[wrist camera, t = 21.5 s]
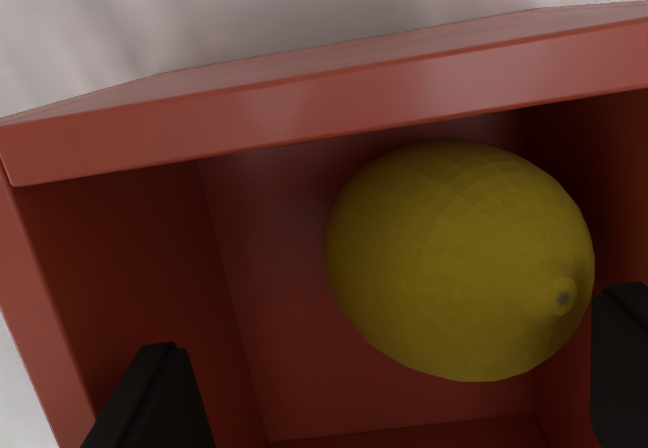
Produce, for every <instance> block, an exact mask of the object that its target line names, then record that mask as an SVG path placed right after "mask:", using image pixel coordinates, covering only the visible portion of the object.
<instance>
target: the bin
mask: <svg viewBox="0 0 648 448" xmlns="http://www.w3.org/2000/svg"><path fill="white" fill-rule="evenodd" d="M424 140H469V141H475V142H479V143H482V144H485V145H488V146H492V147H495V148H498V149H501V150H505V151H508V152H511V153H513V154H516V155H518V156H520V157H522V158H524V159H526V160H528V161H530V162H531V163H533V164H534V165H536V166H537V167H538V168H540V169H541V170H543V171H544V172H546V173H547V174H549V175H550V176H552V177H553V178H554V179H555V180H557V181H558V182H559V183H560V185H561V186H562V187H563V188H564V189H565V191H566V192H567V193H568V194H569V195H570V197H571V198H572V199H573V200H574V202H575V203H576V204H577V206H578V207H579V209H580V211H581V213H582V216H583V218H584V220H585V222H586V224H587V227H588V229H589V232H590V236H591V240H592V245H593V250H594V255H595V280H594V284H593V289H592V294H591V298H590V302H589V305H588V307H587V309H586V312H585V314H584V316H583V319H582V321H581V323H580V324H579V326H578V327H577V328H576V330H575V331H574V333H573V334H572V336H571V337H570V339H569V340H568V341H567V342H566V343H565V344H564V345H563V346H562V347H561V348H560V349H559V350H558V351H557V352H556V353H555V354H554V355H553V356H552V357H550V358H548V359H547V360H545V361H544V362H542V363H540V364H539V365H537V366H535V367H534V368H532V369H531V370H529V371H527V372H525V373H522V374H518V375H515V376H512V377H509V378H506V379H502V380H498V381H483V382H460V381H454V380H449V379H445V378H442V377H438V376H434V375H431V374H427V373H423V372H420V371H417V370H414V369H411V368H409V367H407V366H405V365H403V364H401V363H399V362H397V361H396V360H394V359H393V358H391V357H389V356H388V355H386V354H385V353H383V352H381V351H380V350H378V349H377V348H375V347H374V346H372V345H371V344H370V343H369V342H367V341H366V340H365V339H364V338H363V336H362V335H361V334H360V333H359V332H358V331H357V330H356V328H355V327H354V326H353V325H352V324H351V323H350V322H349V320H348V319H347V318H346V317H345V316H344V314H343V313H342V311H341V309H340V307H339V305H338V303H337V301H336V299H335V296H334V294H333V292H332V290H331V288H330V286H329V282H328V278H327V273H326V268H325V263H324V257H323V255H324V237H325V229H326V226H327V223H328V219H329V216H330V213H331V210H332V207H333V205H334V203H335V202H336V200H337V198H338V196H339V195H340V193H341V191H342V190H343V188H344V186H345V185H346V184H347V183H348V182H349V181H350V180H351V179H352V178H353V177H354V176H355V174H356V173H357V172H358V171H359V170H360V169H361V168H362V167H364V166H365V165H366V164H368V163H370V162H371V161H373V160H375V159H376V158H378V157H380V156H381V155H383V154H384V153H386V152H388V151H390V150H392V149H396V148H399V147H402V146H406V145H409V144H413V143H416V142H420V141H424ZM635 281H640V282H642V283H644V284H645V285H646V286H647V287H648V0H641V1H628V2H614V3H600V4H587V5H573V6H560V7H545V8H536V9H530V10H524V11H518V12H513V13H507V14H501V15H495V16H489V17H484V18H478V19H472V20H466V21H460V22H455V23H449V24H443V25H437V26H432V27H426V28H420V29H414V30H408V31H403V32H397V33H391V34H385V35H379V36H374V37H368V38H362V39H356V40H351V41H345V42H339V43H333V44H327V45H322V46H316V47H310V48H304V49H298V50H293V51H287V52H281V53H275V54H269V55H264V56H258V57H252V58H246V59H241V60H235V61H229V62H223V63H217V64H212V65H206V66H200V67H194V68H188V69H183V70H177V71H171V72H165V73H160V74H155V75H151V76H148V77H144V78H141V79H137V80H133V81H130V82H126V83H123V84H119V85H116V86H112V87H108V88H105V89H101V90H98V91H94V92H91V93H87V94H83V95H80V96H76V97H73V98H69V99H66V100H62V101H59V102H55V103H51V104H48V105H44V106H41V107H37V108H34V109H30V110H26V111H23V112H19V113H16V114H12V115H9V116H5V117H2V118H0V310H1V312H2V314H3V317H4V319H5V322H6V324H7V326H8V329H9V331H10V333H11V336H12V338H13V340H14V343H15V345H16V347H17V350H18V352H19V354H20V357H21V359H22V362H23V364H24V366H25V369H26V371H27V373H28V376H29V378H30V380H31V383H32V385H33V387H34V390H35V392H36V394H37V397H38V399H39V401H40V404H41V406H42V409H43V411H44V413H45V416H46V418H47V420H48V423H49V425H50V427H51V430H52V432H53V434H54V437H55V439H56V441H57V444H58V446H59V448H80V447H81V445H82V443H83V442H84V440H85V438H86V437H87V435H88V433H89V432H90V430H91V428H92V427H93V425H94V423H95V422H96V420H97V418H98V417H99V415H100V413H101V412H102V410H103V408H104V407H105V405H106V403H107V402H108V400H109V399H110V397H111V395H112V394H113V392H114V390H115V389H116V387H117V385H118V384H119V382H120V380H121V379H122V377H123V375H124V374H125V372H126V370H127V369H128V367H129V365H130V364H131V362H132V360H133V359H134V357H135V355H136V354H137V352H138V350H139V349H140V348H141V347H142V346H143V345H149V344H156V343H164V342H174V343H175V344H176V345H177V346H178V348H185V349H186V350H187V352H188V355H189V358H190V361H191V364H192V368H193V371H194V374H195V378H196V381H197V384H198V388H199V391H200V394H201V398H202V401H203V404H204V408H205V411H206V414H207V418H208V421H209V424H210V428H211V431H212V434H213V438H214V441H215V444H216V448H602V447H601V445H600V444H599V442H598V441H597V439H596V437H595V435H594V432H593V430H592V426H591V421H590V371H591V304H592V298H593V296H594V295H599V294H601V290H602V288H603V287H604V286H605V285H612V284H620V283H628V282H635Z"/></svg>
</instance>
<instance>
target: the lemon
mask: <svg viewBox="0 0 648 448" xmlns="http://www.w3.org/2000/svg"><path fill="white" fill-rule="evenodd" d="M323 257H324V263H325V268H326V273H327V278H328V282H329V286H330V288H331V290H332V292H333V294H334V296H335V299H336V301H337V303H338V305H339V307H340V309H341V311H342V313H343V314H344V316H345V317H346V318H347V319H348V320H349V322H350V323H351V324H352V325H353V326H354V327H355V328H356V330H357V331H358V332H359V333H360V334H361V335H362V336H363V338H364V339H365V340H366V341H367V342H369V343H370V344H371V345H372V346H374V347H375V348H377V349H378V350H380V351H381V352H383V353H385V354H386V355H388V356H389V357H391V358H393V359H394V360H396V361H397V362H399V363H401V364H403V365H405V366H407V367H409V368H411V369H414V370H417V371H420V372H423V373H427V374H431V375H434V376H438V377H442V378H445V379H449V380H454V381H460V382H483V381H498V380H502V379H506V378H509V377H512V376H515V375H518V374H522V373H525V372H527V371H529V370H531V369H532V368H534V367H535V366H537V365H539V364H540V363H542V362H544V361H545V360H547V359H548V358H550V357H552V356H553V355H554V354H555V353H556V352H557V351H558V350H559V349H560V348H561V347H562V346H563V345H564V344H565V343H566V342H567V341H568V340H569V339H570V337H571V336H572V334H573V333H574V331H575V330H576V328H577V327H578V326H579V324H580V323H581V321H582V319H583V316H584V314H585V312H586V309H587V307H588V305H589V302H590V298H591V294H592V289H593V284H594V280H595V255H594V250H593V245H592V240H591V236H590V232H589V229H588V227H587V224H586V222H585V220H584V218H583V216H582V213H581V211H580V209H579V207H578V206H577V204H576V203H575V202H574V200H573V199H572V198H571V197H570V195H569V194H568V193H567V192H566V191H565V189H564V188H563V187H562V186H561V185H560V183H559V182H558V181H557V180H555V179H554V178H553V177H552V176H550V175H549V174H547V173H546V172H544V171H543V170H541V169H540V168H538V167H537V166H536V165H534V164H533V163H531V162H530V161H528V160H526V159H524V158H522V157H520V156H518V155H516V154H513V153H511V152H508V151H505V150H501V149H498V148H495V147H492V146H488V145H485V144H482V143H479V142H475V141H469V140H424V141H420V142H416V143H413V144H409V145H406V146H402V147H399V148H396V149H392V150H390V151H388V152H386V153H384V154H383V155H381V156H380V157H378V158H376V159H375V160H373V161H371V162H370V163H368V164H366V165H365V166H364V167H362V168H361V169H360V170H359V171H358V172H357V173H356V174H355V176H354V177H353V178H352V179H351V180H350V181H349V182H348V183H347V184H346V185H345V186H344V188H343V190H342V191H341V193H340V195H339V196H338V198H337V200H336V202H335V203H334V205H333V207H332V210H331V213H330V216H329V219H328V223H327V226H326V229H325V237H324V255H323Z"/></svg>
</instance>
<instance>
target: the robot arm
mask: <svg viewBox="0 0 648 448" xmlns="http://www.w3.org/2000/svg"><path fill="white" fill-rule="evenodd" d="M590 421H591V426H592V430H593V432H594V435H595V437H596V439H597V441H598V442H599V444H600V445H601V447H602V448H648V287H647V286H646V285H645V284H644V283H642V282H640V281H635V282H628V283H620V284H612V285H605V286H604V287H603V288H602V290H601V294H599V295H594V296H593V298H592V304H591V371H590ZM80 448H216V444H215V441H214V438H213V434H212V431H211V428H210V424H209V421H208V418H207V414H206V411H205V408H204V404H203V401H202V398H201V394H200V391H199V388H198V384H197V381H196V378H195V374H194V371H193V368H192V364H191V361H190V358H189V355H188V352H187V350H186V349H185V348H178V346H177V345H176V344H175V343H174V342H164V343H156V344H149V345H143V346H142V347H141V348H140V349H139V350H138V352H137V354H136V355H135V357H134V359H133V360H132V362H131V364H130V365H129V367H128V369H127V370H126V372H125V374H124V375H123V377H122V379H121V380H120V382H119V384H118V385H117V387H116V389H115V390H114V392H113V394H112V395H111V397H110V399H109V400H108V402H107V403H106V405H105V407H104V408H103V410H102V412H101V413H100V415H99V417H98V418H97V420H96V422H95V423H94V425H93V427H92V428H91V430H90V432H89V433H88V435H87V437H86V438H85V440H84V442H83V443H82V445H81V447H80Z"/></svg>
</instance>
